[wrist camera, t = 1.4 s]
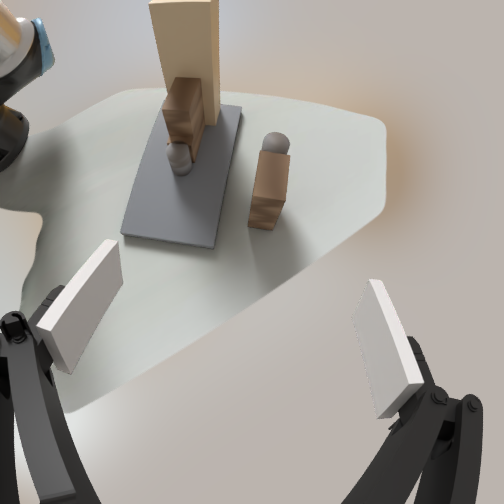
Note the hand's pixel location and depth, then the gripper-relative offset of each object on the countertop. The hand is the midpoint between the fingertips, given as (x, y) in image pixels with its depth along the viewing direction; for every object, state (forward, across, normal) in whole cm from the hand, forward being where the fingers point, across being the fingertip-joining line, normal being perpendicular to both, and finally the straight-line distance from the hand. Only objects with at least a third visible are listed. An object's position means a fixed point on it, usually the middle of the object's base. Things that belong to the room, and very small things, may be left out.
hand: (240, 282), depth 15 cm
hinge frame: (+32, -11, -4) cm, 34 cm away
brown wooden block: (+30, +2, -7) cm, 30 cm away
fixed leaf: (+33, -11, -1) cm, 35 cm away
